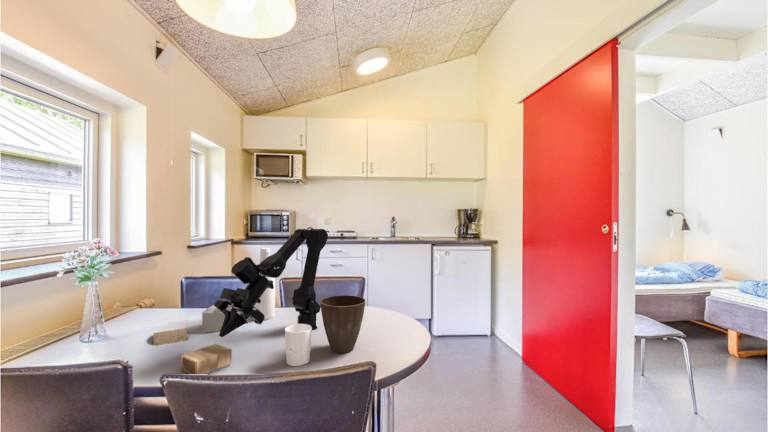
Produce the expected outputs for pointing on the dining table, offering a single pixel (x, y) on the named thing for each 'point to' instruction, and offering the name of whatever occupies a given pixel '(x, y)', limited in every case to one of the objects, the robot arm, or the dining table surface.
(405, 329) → the dining table surface
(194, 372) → the oak block
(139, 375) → the dining table surface
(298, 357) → the white cup
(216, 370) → the felt mat
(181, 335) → the clay tablet
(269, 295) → the alcohol
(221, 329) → the robot arm
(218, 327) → the lumpy-topped squat cylinder
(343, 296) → the plant pot
